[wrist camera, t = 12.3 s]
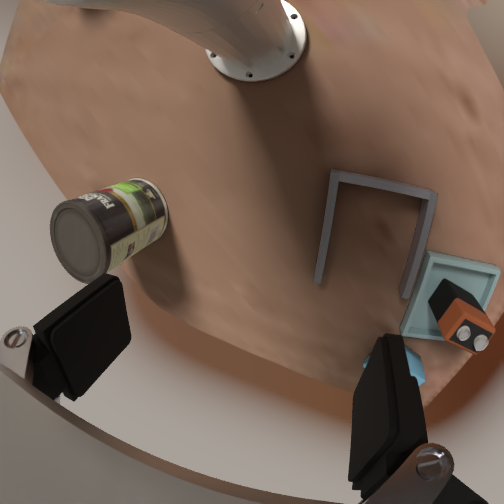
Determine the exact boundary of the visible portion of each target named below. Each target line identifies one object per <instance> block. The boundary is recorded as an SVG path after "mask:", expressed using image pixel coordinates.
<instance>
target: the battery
mask: <svg viewBox="0 0 504 504" xmlns="http://www.w3.org/2000/svg"><path fill="white" fill-rule="evenodd" d="M428 303H429V305H430V308H431V310H432V312H433V314H434V317H435V319H436V321H437V323H438V326H439V328H440V331H441V333H442V335H443V338H444V340H445V341H447V342H449V343H451V344H453V345H455V346H457V347H459V348H462V349H464V350H466V351H468V352H470V353H472V354H478V353H479V351H480V350H484V349H485V348H486V346H487V345H488V344H489V343H488V341H489V339H490V338H491V337H492V336H493V334H494V333H495V328H494V326H493V324H492V323H491V321H490V319H489V318H488V316H487V315H486V313H485V312H484V310H483V309H482V307H481V306H480V304H479V303H478V301H477V300H476V298H475V297H474V295H473V294H471V293H469V292H468V291H466V290H465V289H463V288H461V287H460V286H458V285H456V284H454V283H453V282H451V281H449V280H448V279H445V278H444V279H442V281H441V282H440V284H439V285H438V287H437V288H436V290H435V291H434V293H433V294H432V295H431V297H430V298H429V300H428Z"/></svg>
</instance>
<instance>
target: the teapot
mask: <svg viewBox="0 0 504 504" xmlns="http://www.w3.org/2000/svg"><path fill="white" fill-rule="evenodd" d="M404 346H405V345H404ZM405 351H406V355H407V359H408V364H409V369H410V374H411V376H415V377H416V378H417V381H418V385H419V386H420V385H421V384H422V383H424V382H425V381H426V377H425V373H424V369H423V365H422V361H421V357H420V356H419V355H418V354H416V353H415V352H413V351H412V350H411V349H409V348H408V347H406V346H405ZM369 358H370V355H369V356H368V357H367V358H366V359H365V360H364V364H363V367H364V370H365V367H366V365H367V363H368V360H369Z"/></svg>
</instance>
